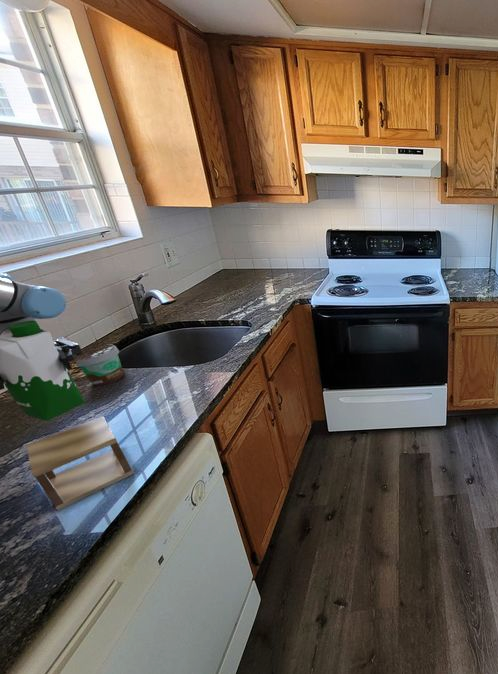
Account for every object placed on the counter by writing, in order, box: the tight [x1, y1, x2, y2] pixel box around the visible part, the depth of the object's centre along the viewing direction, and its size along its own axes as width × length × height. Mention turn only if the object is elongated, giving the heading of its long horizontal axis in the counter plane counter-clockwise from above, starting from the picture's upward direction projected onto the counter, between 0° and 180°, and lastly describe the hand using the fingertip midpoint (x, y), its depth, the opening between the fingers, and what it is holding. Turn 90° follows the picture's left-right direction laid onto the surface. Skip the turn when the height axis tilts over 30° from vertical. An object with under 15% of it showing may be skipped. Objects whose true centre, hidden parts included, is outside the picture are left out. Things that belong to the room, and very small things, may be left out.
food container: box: [75, 343, 125, 387], centre depth 119 cm, size 12×6×10 cm, turn 0°
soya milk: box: [0, 320, 86, 422], centre depth 78 cm, size 9×9×20 cm
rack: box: [25, 415, 135, 511], centre depth 79 cm, size 12×12×10 cm
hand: (34, 373), depth 75 cm, fingers closed on soya milk, 9 cm apart
